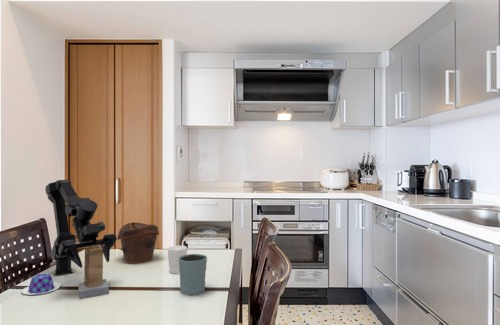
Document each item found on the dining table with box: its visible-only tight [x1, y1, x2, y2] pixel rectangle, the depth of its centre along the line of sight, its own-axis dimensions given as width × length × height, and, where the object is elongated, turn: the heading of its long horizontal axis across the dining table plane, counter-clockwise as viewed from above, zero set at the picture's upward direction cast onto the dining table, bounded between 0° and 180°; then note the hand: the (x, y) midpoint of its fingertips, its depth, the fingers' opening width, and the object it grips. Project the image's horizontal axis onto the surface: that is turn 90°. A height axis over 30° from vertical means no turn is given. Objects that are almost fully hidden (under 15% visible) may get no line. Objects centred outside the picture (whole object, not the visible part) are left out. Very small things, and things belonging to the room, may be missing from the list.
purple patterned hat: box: [21, 272, 62, 296], centre depth 118 cm, size 12×12×5 cm
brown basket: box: [116, 221, 161, 264], centre depth 156 cm, size 18×20×18 cm
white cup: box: [167, 245, 188, 275], centre depth 139 cm, size 8×8×10 cm
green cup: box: [179, 253, 208, 296], centre depth 117 cm, size 10×10×12 cm
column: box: [83, 245, 104, 288], centre depth 116 cm, size 4×4×14 cm
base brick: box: [78, 278, 110, 299], centre depth 116 cm, size 9×9×2 cm
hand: (95, 264), depth 115 cm, fingers open, 9 cm apart
